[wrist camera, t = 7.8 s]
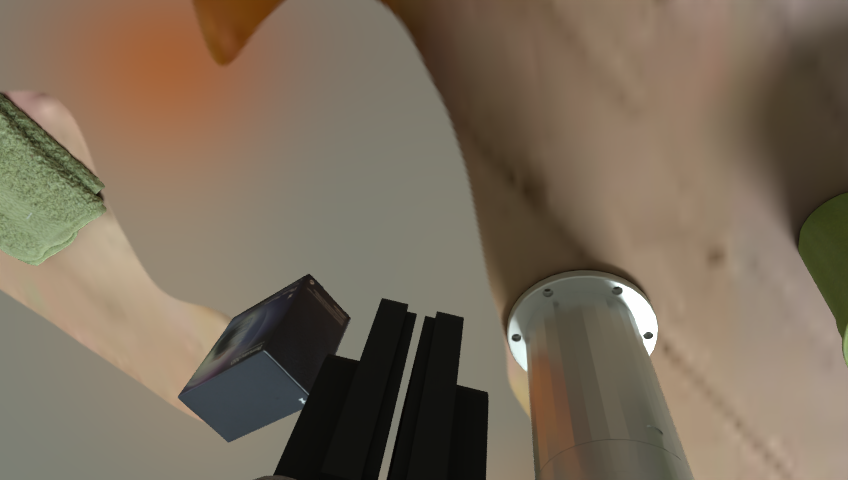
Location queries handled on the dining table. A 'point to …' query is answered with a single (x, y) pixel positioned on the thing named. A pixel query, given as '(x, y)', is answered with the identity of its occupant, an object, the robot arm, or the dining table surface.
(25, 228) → the washcloth
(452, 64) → the dining table surface
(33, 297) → the dining table surface
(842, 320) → the plant pot
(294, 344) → the small box
